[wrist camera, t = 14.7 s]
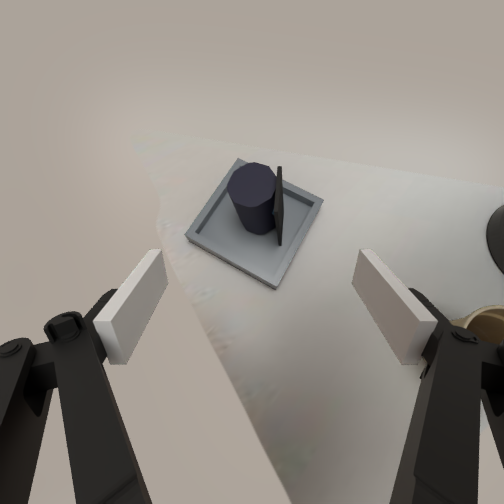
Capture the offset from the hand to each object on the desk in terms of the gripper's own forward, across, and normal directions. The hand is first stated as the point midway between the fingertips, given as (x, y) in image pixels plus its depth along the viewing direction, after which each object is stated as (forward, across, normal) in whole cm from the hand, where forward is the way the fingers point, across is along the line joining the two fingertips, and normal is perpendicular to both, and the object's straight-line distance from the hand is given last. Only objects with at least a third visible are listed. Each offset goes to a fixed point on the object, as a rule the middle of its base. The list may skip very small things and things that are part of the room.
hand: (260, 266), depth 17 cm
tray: (+20, 0, -5) cm, 20 cm away
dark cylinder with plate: (+19, 0, -4) cm, 19 cm away
